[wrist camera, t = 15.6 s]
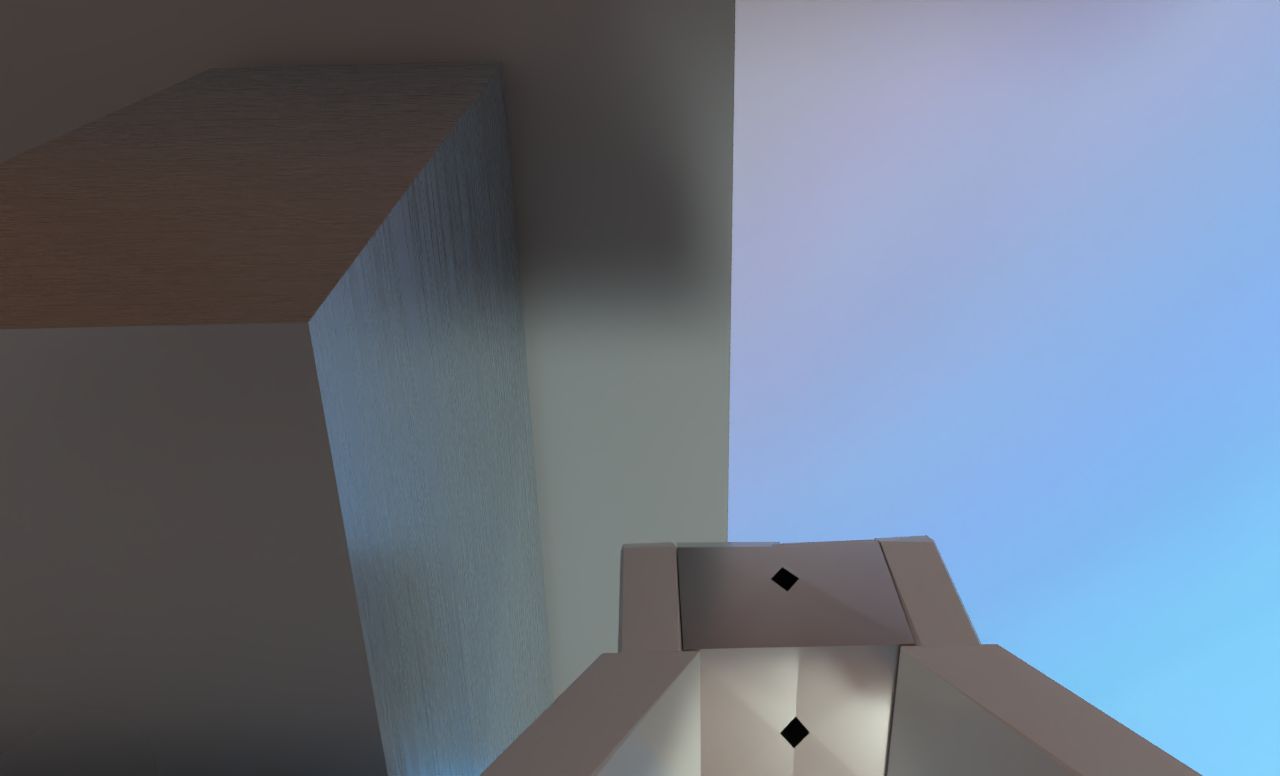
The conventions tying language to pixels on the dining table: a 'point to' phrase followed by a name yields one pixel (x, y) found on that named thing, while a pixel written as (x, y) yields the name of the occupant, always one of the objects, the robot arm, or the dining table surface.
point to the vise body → (545, 222)
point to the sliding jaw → (269, 433)
